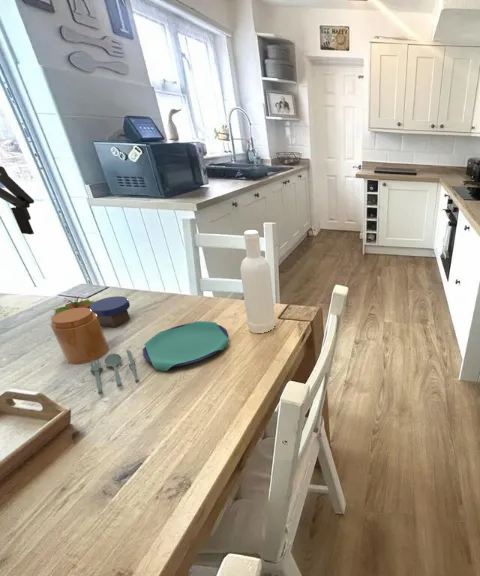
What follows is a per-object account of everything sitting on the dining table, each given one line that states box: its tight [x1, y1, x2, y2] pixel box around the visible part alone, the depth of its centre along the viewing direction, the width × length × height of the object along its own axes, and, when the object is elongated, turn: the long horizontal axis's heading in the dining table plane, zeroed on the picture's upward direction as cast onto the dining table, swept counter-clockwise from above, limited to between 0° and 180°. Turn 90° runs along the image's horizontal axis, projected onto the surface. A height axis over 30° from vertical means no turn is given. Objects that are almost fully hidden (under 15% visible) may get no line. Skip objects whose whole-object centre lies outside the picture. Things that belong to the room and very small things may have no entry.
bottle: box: [239, 229, 276, 334], centre depth 92 cm, size 8×8×30 cm
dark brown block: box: [98, 309, 131, 329], centre depth 95 cm, size 5×5×6 cm
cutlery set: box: [90, 320, 230, 396], centre depth 84 cm, size 20×30×2 cm, turn 132°
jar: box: [50, 308, 110, 365], centre depth 80 cm, size 8×8×12 cm
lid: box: [90, 295, 131, 317], centre depth 94 cm, size 9×9×2 cm
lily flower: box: [51, 295, 95, 318], centre depth 99 cm, size 12×12×5 cm
